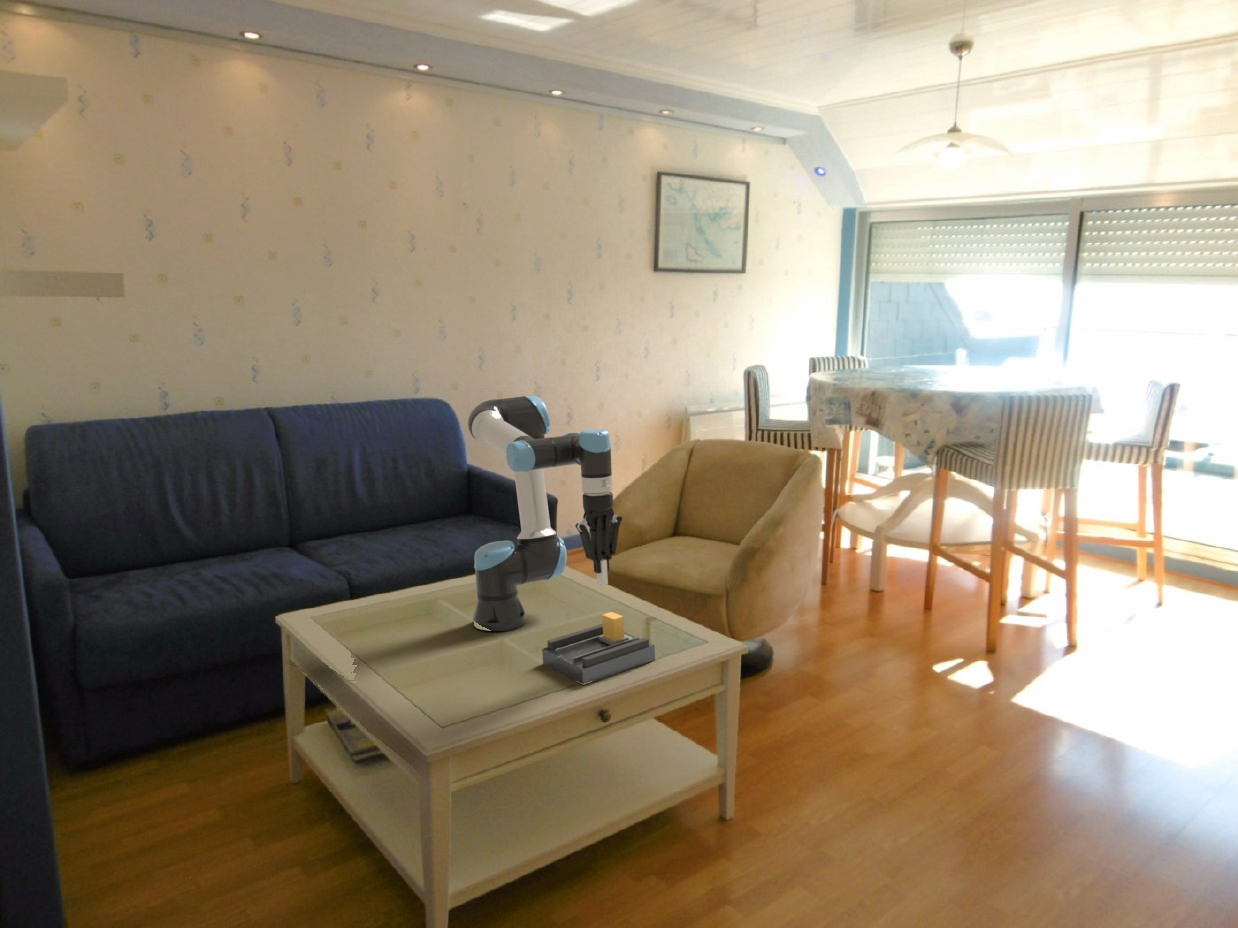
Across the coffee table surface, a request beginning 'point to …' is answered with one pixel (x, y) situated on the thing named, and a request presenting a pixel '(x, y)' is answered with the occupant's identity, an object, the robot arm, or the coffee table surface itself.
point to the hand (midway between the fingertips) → (602, 584)
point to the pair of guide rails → (601, 655)
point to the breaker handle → (613, 629)
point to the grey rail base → (571, 654)
